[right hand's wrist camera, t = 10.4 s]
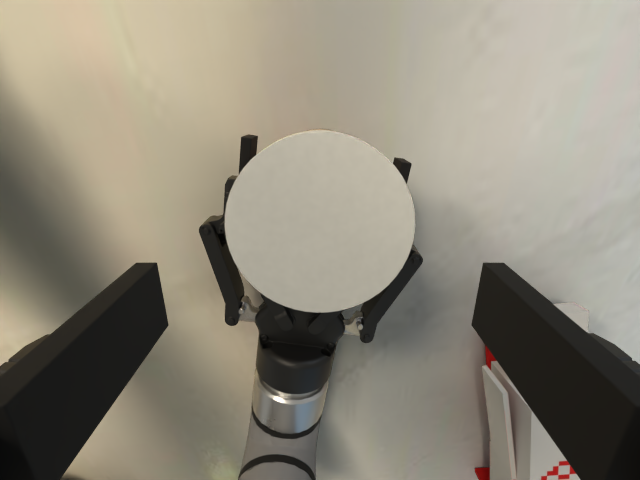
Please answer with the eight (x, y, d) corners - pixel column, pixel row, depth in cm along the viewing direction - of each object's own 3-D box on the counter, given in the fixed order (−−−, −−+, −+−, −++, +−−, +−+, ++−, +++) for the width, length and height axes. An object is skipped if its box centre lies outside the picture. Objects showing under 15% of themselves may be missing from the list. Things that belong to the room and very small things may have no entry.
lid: (193, 202, 21) (184, 208, 19) (344, 88, 19) (346, 86, 17) (300, 327, 24) (299, 341, 23) (440, 242, 22) (449, 252, 20)
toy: (663, 330, 29) (632, 595, 35) (558, 277, 42) (550, 478, 48) (515, 344, 29) (512, 602, 36) (457, 287, 42) (463, 484, 49)
